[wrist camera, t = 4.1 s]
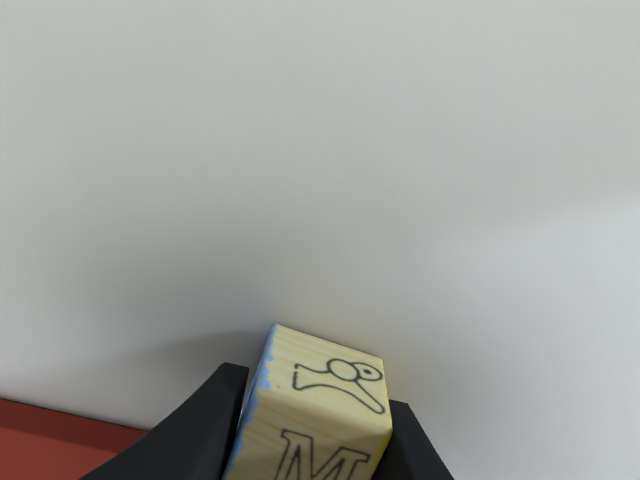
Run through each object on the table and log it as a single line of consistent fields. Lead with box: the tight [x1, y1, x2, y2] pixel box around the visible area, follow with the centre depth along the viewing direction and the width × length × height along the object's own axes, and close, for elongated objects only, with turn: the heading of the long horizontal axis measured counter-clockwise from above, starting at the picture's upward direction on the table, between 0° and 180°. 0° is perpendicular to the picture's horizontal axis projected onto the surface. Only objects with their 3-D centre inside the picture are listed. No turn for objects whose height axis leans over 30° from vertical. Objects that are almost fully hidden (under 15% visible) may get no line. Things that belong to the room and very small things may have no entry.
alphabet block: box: [221, 324, 393, 480], centre depth 11 cm, size 3×3×3 cm
